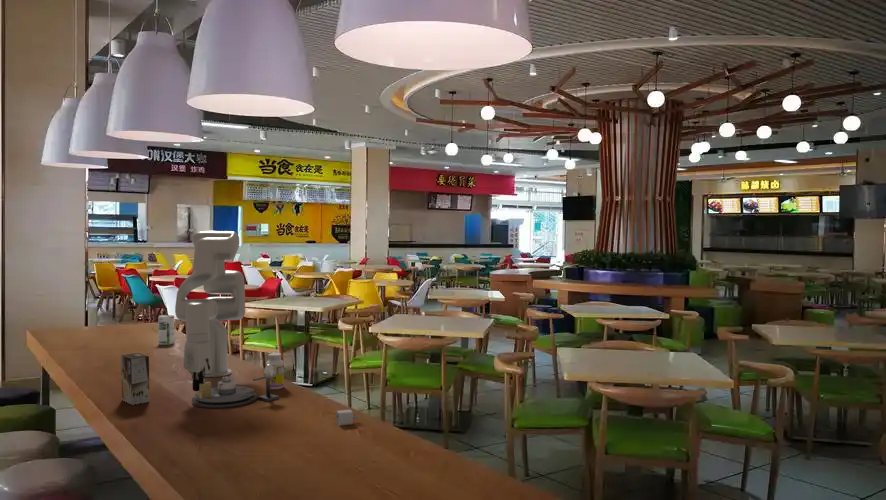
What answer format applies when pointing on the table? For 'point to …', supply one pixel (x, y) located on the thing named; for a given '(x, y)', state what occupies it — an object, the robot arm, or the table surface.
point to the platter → (212, 396)
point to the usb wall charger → (345, 417)
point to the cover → (226, 386)
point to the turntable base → (227, 405)
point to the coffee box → (135, 378)
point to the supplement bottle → (278, 379)
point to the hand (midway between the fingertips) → (198, 390)
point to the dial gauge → (268, 382)
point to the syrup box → (166, 329)
